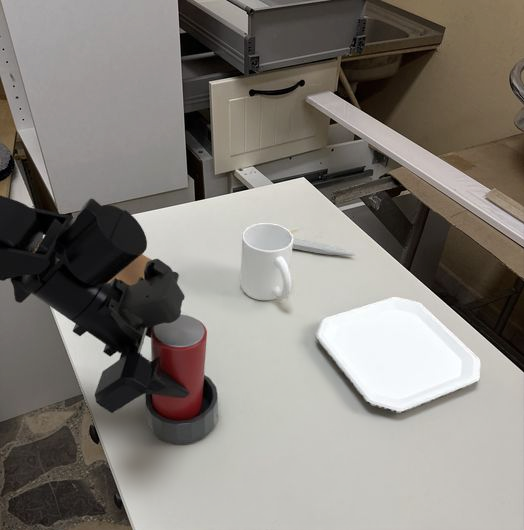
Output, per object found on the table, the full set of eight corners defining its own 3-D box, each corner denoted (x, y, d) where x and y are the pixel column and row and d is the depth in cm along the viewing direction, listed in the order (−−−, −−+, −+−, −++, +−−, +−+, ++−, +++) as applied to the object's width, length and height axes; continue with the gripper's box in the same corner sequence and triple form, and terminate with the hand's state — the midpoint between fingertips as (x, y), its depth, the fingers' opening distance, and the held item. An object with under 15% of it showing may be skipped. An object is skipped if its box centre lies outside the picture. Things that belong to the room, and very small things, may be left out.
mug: (306, 308, 88) (315, 257, 81) (263, 321, 85) (267, 269, 78) (273, 268, 96) (278, 218, 88) (232, 279, 93) (233, 228, 85)
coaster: (124, 310, 85) (123, 307, 84) (76, 279, 90) (75, 276, 89) (176, 277, 92) (176, 273, 91) (129, 250, 97) (129, 246, 96)
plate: (406, 300, 91) (409, 290, 90) (490, 382, 79) (496, 372, 77) (304, 332, 84) (305, 322, 83) (378, 428, 71) (382, 418, 70)
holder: (148, 448, 67) (145, 427, 64) (148, 393, 73) (145, 371, 70) (220, 441, 68) (220, 420, 65) (213, 388, 75) (213, 366, 72)
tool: (354, 256, 100) (356, 247, 98) (354, 261, 99) (356, 252, 97) (266, 240, 102) (267, 231, 100) (264, 245, 101) (265, 236, 99)
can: (151, 426, 66) (149, 347, 57) (153, 389, 71) (152, 311, 62) (202, 426, 67) (207, 349, 58) (201, 390, 72) (206, 313, 63)
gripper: (110, 322, 46) (231, 409, 54) (151, 211, 59) (244, 294, 67) (41, 374, 52) (161, 446, 60) (92, 262, 65) (185, 334, 73)
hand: (190, 374), depth 65 cm, fingers closed on can, 6 cm apart
